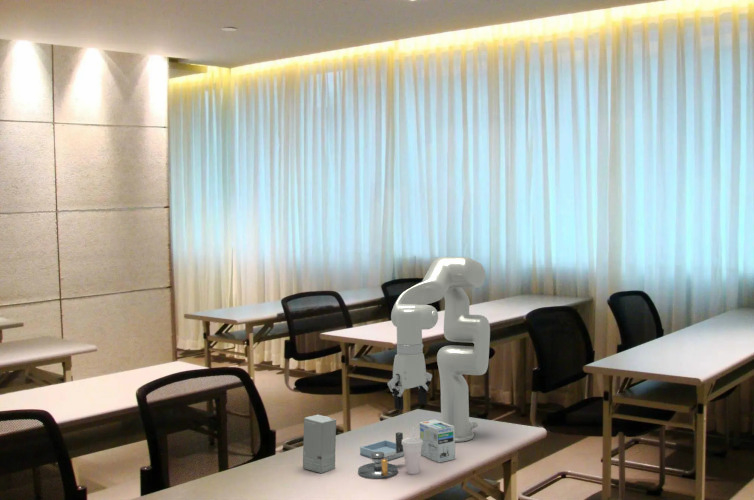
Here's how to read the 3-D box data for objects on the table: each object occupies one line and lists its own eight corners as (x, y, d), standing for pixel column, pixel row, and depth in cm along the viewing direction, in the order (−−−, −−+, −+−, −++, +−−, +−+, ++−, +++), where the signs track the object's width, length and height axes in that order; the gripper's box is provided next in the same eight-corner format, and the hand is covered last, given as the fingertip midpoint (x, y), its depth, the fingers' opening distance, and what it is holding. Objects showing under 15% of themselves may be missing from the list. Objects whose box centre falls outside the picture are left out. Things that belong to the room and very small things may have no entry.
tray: (386, 447, 268) (385, 439, 267) (409, 454, 259) (409, 446, 259) (360, 454, 260) (360, 447, 260) (383, 462, 252) (383, 454, 252)
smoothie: (421, 476, 238) (420, 429, 237) (400, 475, 239) (399, 428, 239) (424, 469, 244) (423, 423, 244) (404, 468, 246) (402, 422, 245)
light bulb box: (456, 459, 253) (455, 425, 252) (438, 463, 249) (437, 429, 249) (436, 451, 262) (435, 418, 262) (419, 454, 259) (418, 421, 258)
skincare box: (302, 468, 248) (300, 418, 247) (318, 463, 253) (317, 413, 252) (321, 474, 242) (320, 422, 241) (338, 468, 248) (336, 417, 247)
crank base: (379, 463, 251) (379, 445, 251) (406, 472, 242) (406, 454, 241) (350, 472, 243) (349, 454, 243) (376, 482, 234) (376, 463, 234)
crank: (377, 464, 240) (376, 442, 239) (368, 461, 243) (367, 439, 242) (406, 455, 247) (406, 433, 247) (397, 452, 250) (397, 431, 250)
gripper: (421, 344, 248) (422, 399, 249) (379, 351, 237) (380, 409, 238) (439, 347, 243) (440, 403, 244) (396, 354, 231) (398, 413, 232)
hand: (410, 406), depth 241 cm, fingers open, 9 cm apart
